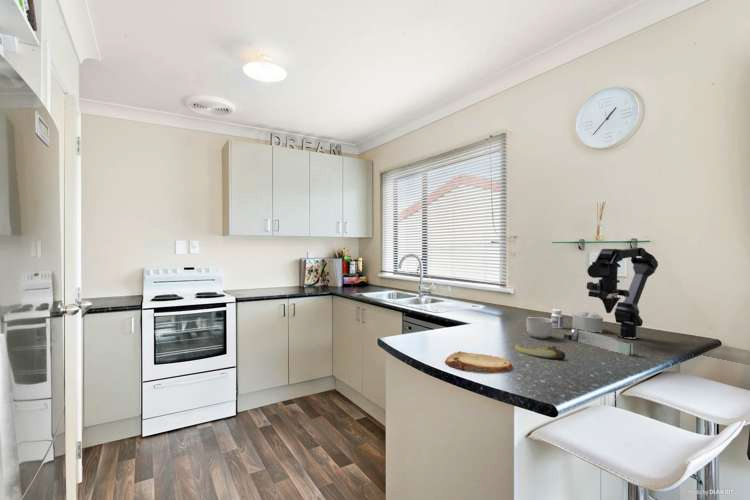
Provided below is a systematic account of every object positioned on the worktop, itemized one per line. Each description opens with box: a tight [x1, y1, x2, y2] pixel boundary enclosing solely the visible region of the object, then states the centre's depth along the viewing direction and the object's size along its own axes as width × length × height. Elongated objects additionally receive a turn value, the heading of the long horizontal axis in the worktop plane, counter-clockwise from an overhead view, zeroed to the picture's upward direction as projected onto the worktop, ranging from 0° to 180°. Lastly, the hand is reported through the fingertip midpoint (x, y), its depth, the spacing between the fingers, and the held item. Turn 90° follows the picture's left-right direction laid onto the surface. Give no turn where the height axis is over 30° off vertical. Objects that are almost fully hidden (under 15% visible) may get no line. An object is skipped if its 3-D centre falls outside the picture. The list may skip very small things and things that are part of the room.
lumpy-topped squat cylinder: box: [572, 311, 604, 332], centre depth 174 cm, size 10×13×9 cm
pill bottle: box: [550, 308, 564, 329], centre depth 178 cm, size 5×5×9 cm
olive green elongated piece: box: [514, 343, 566, 360], centre depth 134 cm, size 20×10×3 cm, turn 43°
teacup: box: [525, 316, 553, 339], centre depth 160 cm, size 14×11×8 cm
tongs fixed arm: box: [563, 328, 631, 356], centre depth 145 cm, size 26×4×4 cm, turn 22°
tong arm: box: [583, 331, 634, 356], centre depth 143 cm, size 20×1×4 cm, turn 22°
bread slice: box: [444, 350, 514, 374], centre depth 118 cm, size 18×18×4 cm
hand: (608, 313), depth 154 cm, fingers closed
